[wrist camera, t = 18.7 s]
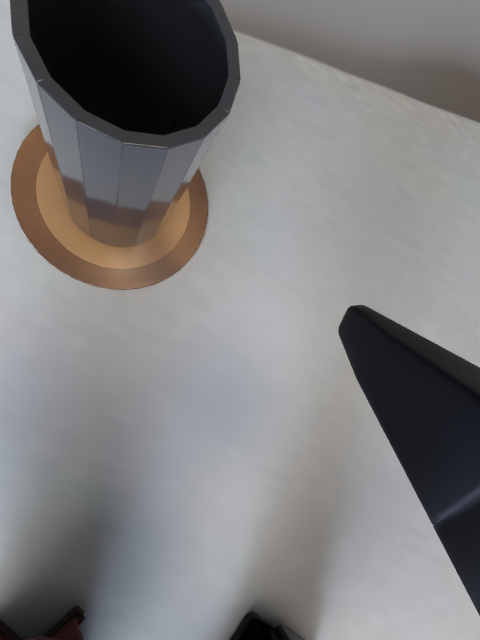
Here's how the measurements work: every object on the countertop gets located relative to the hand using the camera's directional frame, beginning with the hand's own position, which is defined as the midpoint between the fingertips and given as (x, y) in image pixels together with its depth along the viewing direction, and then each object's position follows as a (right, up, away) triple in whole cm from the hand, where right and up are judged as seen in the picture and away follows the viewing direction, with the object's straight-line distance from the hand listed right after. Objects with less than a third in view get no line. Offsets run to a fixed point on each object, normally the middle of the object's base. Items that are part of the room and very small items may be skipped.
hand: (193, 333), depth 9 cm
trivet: (-6, +8, +12) cm, 16 cm away
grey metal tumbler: (-6, +8, +12) cm, 16 cm away
